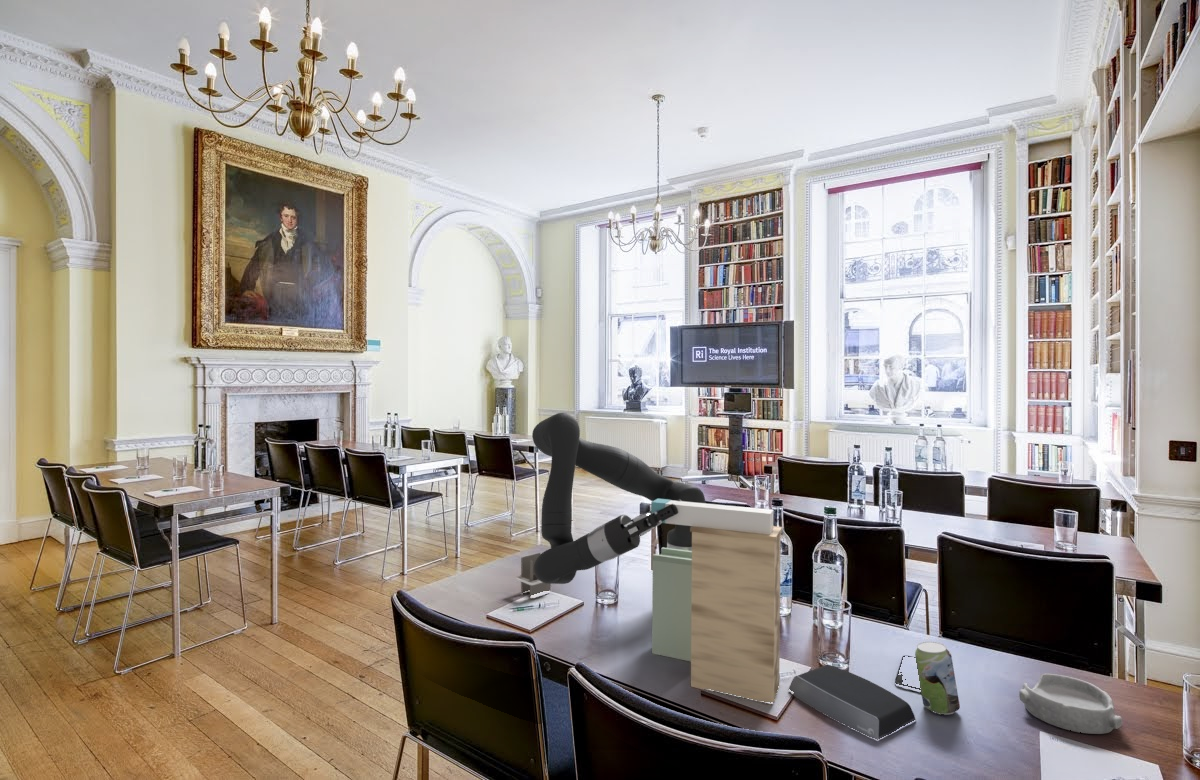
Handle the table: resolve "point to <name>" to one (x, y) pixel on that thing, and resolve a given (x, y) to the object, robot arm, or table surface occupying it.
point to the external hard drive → (852, 701)
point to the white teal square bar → (718, 516)
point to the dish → (1071, 704)
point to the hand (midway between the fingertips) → (679, 506)
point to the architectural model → (531, 576)
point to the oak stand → (736, 612)
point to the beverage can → (937, 678)
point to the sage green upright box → (672, 603)
